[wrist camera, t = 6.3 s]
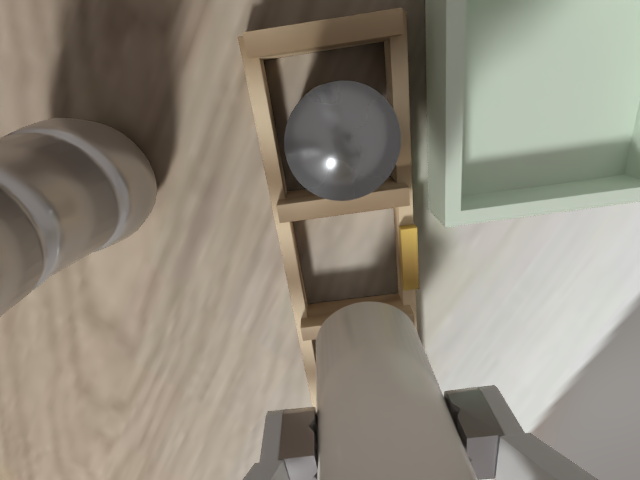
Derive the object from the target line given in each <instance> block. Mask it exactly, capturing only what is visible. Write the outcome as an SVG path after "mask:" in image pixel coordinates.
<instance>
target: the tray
mask: <svg viewBox="0 0 640 480" xmlns="http://www.w3.org/2000/svg"><path fill="white" fill-rule="evenodd" d="M425 16H426V82H427V148H428V209H429V210H430V211H431V213H432V214H433V215H434V216H435V217H436V218H437V219H438V220H439V221H440V222H441V223H442V224H443V226H444V227H452V226H459V225H467V224H475V223H482V222H490V221H497V220H505V219H512V218H520V217H528V216H535V215H543V214H550V213H558V212H565V211H573V210H580V209H588V208H596V207H603V206H611V205H618V204H626V203H633V202H640V0H425Z"/></svg>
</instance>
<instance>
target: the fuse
mask: <svg viewBox="0 0 640 480" xmlns="http://www.w3.org/2000/svg"><path fill="white" fill-rule="evenodd" d="M316 402H317V466H318V470H317V479H318V480H478V479H477V477H476V474H475V472H474V470H473V467H472V465H471V462H470V460H469V457H468V455H467V452H466V450H465V448H464V445H463V443H462V440H461V438H460V435H459V433H458V431H457V428H456V426H455V423H454V421H453V418H452V416H451V414H450V411H449V409H448V406H447V404H446V401H445V399H444V397H443V394H442V392H441V389H440V387H439V384H438V382H437V380H436V377H435V375H434V372H433V370H432V367H431V365H430V363H429V360H428V358H427V355H426V353H425V350H424V348H423V345H422V343H421V341H420V338H419V336H418V333H417V331H416V328H415V326H414V324H413V322H412V321H411V319H410V318H409V317H408V316H407V315H406V314H405V313H404V312H402V311H401V310H400V309H398V308H396V307H394V306H392V305H389V304H385V303H381V302H359V303H354V304H351V305H348V306H345V307H343V308H341V309H339V310H337V311H336V312H334V313H333V314H332V315H330V316H329V317H328V318H327V319H326V320H325V322H324V323H323V324H322V326H321V327H320V329H319V331H318V334H317V338H316Z"/></svg>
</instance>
